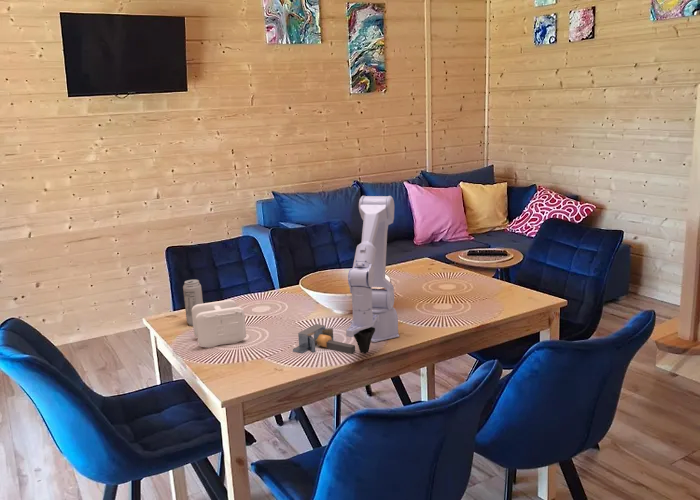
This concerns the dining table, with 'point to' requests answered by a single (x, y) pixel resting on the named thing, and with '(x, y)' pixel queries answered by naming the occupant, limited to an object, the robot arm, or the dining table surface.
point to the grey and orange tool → (334, 344)
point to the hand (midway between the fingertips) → (364, 352)
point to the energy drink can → (192, 297)
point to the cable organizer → (218, 323)
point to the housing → (307, 340)
